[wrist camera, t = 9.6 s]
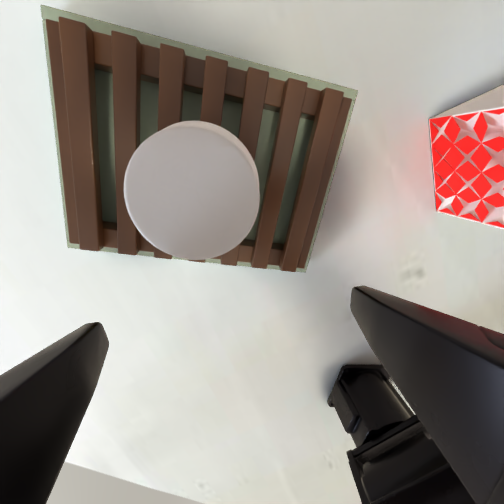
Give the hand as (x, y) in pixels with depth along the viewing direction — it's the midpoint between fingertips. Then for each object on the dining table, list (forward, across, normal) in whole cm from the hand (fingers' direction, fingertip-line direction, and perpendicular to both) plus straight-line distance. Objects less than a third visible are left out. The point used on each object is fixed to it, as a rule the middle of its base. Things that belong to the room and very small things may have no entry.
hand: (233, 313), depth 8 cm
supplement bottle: (+9, +1, -4) cm, 10 cm away
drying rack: (+12, +1, -4) cm, 12 cm away
